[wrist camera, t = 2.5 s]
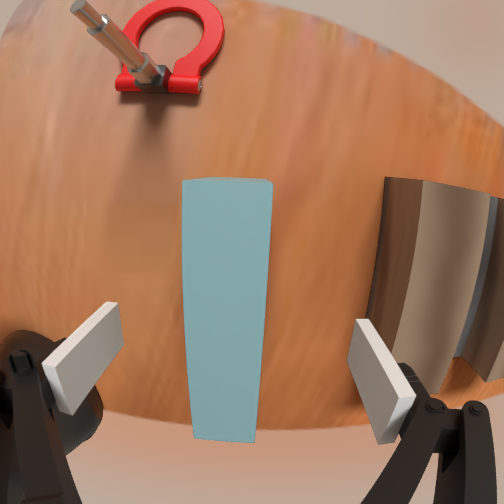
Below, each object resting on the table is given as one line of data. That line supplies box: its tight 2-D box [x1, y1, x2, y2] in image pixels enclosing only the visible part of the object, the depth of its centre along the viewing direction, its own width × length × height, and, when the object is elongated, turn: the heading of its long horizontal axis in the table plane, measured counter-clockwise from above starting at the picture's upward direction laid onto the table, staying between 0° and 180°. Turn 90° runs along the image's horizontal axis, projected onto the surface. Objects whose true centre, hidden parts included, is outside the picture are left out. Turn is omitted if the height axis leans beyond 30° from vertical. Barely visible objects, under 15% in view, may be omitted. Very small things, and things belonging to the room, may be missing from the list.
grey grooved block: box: [365, 177, 504, 395], centre depth 20 cm, size 18×16×6 cm
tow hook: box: [70, 0, 225, 94], centre depth 13 cm, size 8×13×9 cm
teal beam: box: [182, 177, 273, 443], centre depth 20 cm, size 16×4×9 cm, turn 177°
